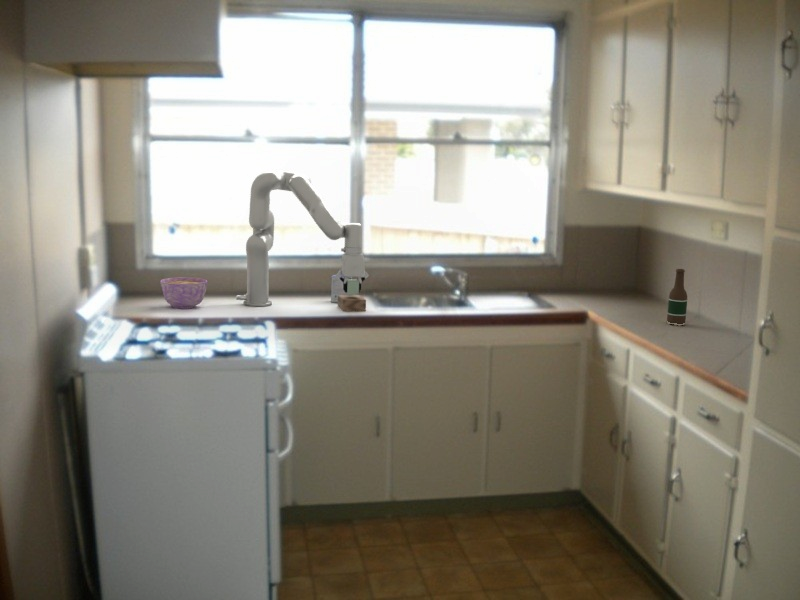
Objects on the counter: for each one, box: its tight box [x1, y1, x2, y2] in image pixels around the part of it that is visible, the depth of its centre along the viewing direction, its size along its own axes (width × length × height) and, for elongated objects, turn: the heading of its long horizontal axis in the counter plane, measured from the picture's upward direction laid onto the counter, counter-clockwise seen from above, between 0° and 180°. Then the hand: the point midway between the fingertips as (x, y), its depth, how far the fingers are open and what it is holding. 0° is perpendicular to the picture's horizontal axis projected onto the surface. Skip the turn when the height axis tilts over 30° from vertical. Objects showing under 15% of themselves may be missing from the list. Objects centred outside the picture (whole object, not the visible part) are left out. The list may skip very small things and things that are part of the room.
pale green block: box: [346, 279, 360, 295], centre depth 398 cm, size 5×5×6 cm
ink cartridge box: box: [330, 269, 354, 303], centre depth 416 cm, size 10×6×14 cm, turn 94°
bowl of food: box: [159, 276, 209, 310], centre depth 389 cm, size 20×20×12 cm
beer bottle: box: [666, 268, 688, 324], centre depth 387 cm, size 8×8×24 cm
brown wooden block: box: [337, 294, 367, 312], centre depth 400 cm, size 10×13×5 cm
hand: (352, 291), depth 399 cm, fingers closed on pale green block, 5 cm apart
